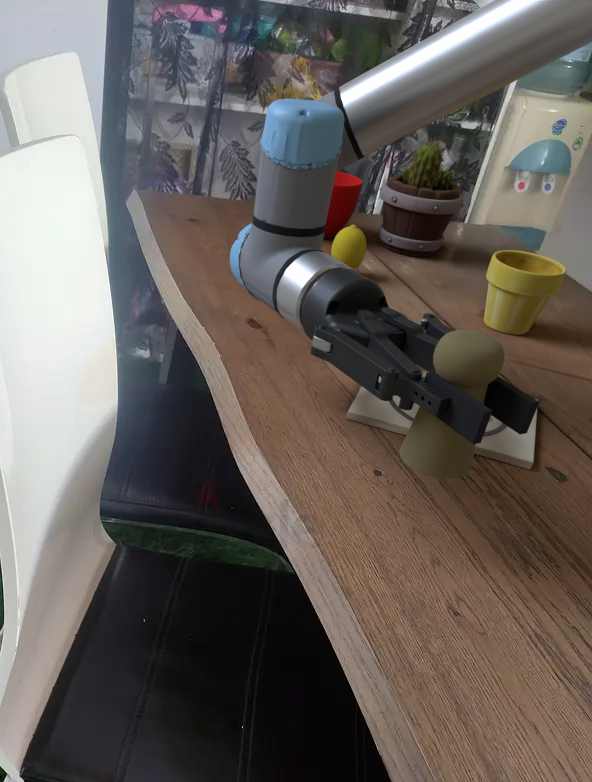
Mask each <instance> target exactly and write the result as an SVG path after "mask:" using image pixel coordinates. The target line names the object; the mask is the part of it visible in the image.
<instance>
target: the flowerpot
mask: <svg viewBox="0 0 592 782" xmlns="http://www.w3.org/2000/svg"><path fill="white" fill-rule="evenodd" d="M436 137H437V135H436V134H435V135H434V138H433V140H432V138H431V137H430V136H428V138H429V139H430V140H429V141H428V139H426V140H425V141H426V142H427V143H425V142H424V141H423V142H422V143H423V144H424V145H423V146H421V145H417V147H418V150H417V148H416V149H415V150H414V151H413V153H412V155H410V159H412V161H409V162H408V163H406V167H405V168H404V170H403V172H401V173H397V174H394V175H393V176H390V177H389V178H388V180H387V181H385V182H383V183H382V185H381V186H380V187H379V191H380V192H379V197H380V199H381V201H383V204H382V205H383V206H382V223H381V224H380V225H379V228H378V236H379V239H380V240H381V244H382V246H383V247H384V248H385V249H387V250H389V251H392V252H393V253H394V252H395V253H397V254H403V255H406V256H410V257H430V256H432V255H433V256H434V254H435V253H436V251H437V250H440V248H441V247H442V246H444V242H445V236H444V233H445V231H446V229H447V227H448V226H449V224H450V222H451V220H452V218H453V215H454V214H457V213H459V212H460V211H461V209H462V208H463V207H464V206H465V203H464V196H463V195H462V194H461V193H460V192H461V191H460V187H459V185H457V184H456V183H455V182H454V181H455V179H454V175H455V173H453V172H455V170H454V169H452V170H451V171H448V170H449V168H450V166H446V167H444V166H443V165H442V163H446V161H447V160H449V159H446V158H447V156H448V155H446V154H445V151H444V150H441V149H442V145H443V144H442V142H441V139H439V140H436ZM435 140H436V141H435ZM439 142H440V143H439ZM416 150H417V151H416Z"/></svg>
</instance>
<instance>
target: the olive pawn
mask: <svg viewBox="0 0 592 782" xmlns="http://www.w3.org/2000/svg"><path fill="white" fill-rule="evenodd" d="M504 362H505V352H504V348H503V346H502V344H501V343H500V342H499V341H498V340H496V338H494V337H492V336H491V335H488V334H486V333H483V332H480V331H475V330H469V329H457V330H454V331H452V332H449V333H447V334H445V335H444V336H443V337H442V338H441V339H440V341H439V342H438V344H437V346H436V348H435V351H434V355H433V364H434V367H435V370H436V373H437V374H438V375H439V376H440V377H442V378H443V379H445V380H447V381H449V382H451V383H452V384H454V385H455V386H457V387H458V388H460V389H461V390H463V391H464V392H466V393H467V394H469V395H470V396H471V397H473V398H474V399H476V400H477V401H479V402H480V403H482V404H483V405H484V401H485V396H486V392H487V387H488V384H489V383H491V382H492V381H494V380H495V379H496V378H497V376H499V375H500V373H501V371H502V369H503V366H504ZM475 445H476V444H472V443H471V442H470V441H468V440H467V439H465V438H464V437H463V436H461V435H460V434H459V433H457V432H456V431H455V430H453V429H452V428H451V427H449V426H448V425H446V424H445V423H444V422H442V421H441V420H440V419H438V418H437V417H436V416H434V415H432V414H430V413H428V412H427V411H426V410H424V409H423V408H422V407H419V409H418V411H417V413H416V416H415V418H414V420H413V422H412V424H411V426H410V429H409V431H408V433H407V435H405V437H404V440H403V442H402V444H401V446H400V448H399V451H398V453H399V457H400V459H401V460H402V461H403V462H404V464H406V465H407V466H408V467H409V468H411V469H412V470H414V471H416V472H418V473H420V474H423V475H426V476H429V477H431V478H437V479H442V480H443V479H444V480H451V479H454V480H455V479H459V478H462V477H465V476H467V475H468V474H469V473H470V472H471V468H472V463H473V458H474V456H475V454H474V450H475Z"/></svg>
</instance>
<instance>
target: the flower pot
mask: <svg viewBox="0 0 592 782" xmlns="http://www.w3.org/2000/svg"><path fill="white" fill-rule="evenodd" d="M566 274H567V268H566V267H565V266H564V265H563V264H561V262H559V261H557V260H555V259H553V258H550V257H547V256H544V255H541V254H537V253H534V252H528V251H524V250H516V249H515V250H514V249H513V250H512V249H503V250H499V251H495V252H494V253H493V254H492V256H491V259H490V261H489V264H488V268H487V271H486V274H485V275H486V277H485V278H486V280H487V281H488V285H487V294H486V301H485V309H484V316H483V323H484V324H485V325H486V326H487V327H488V328H490V329H492V330H494V331H496V332H499V333H503V334H505V335H512V336H513V335H514V336H520V335H526V334H527V333H528V332H529V331H530V329H531V328H532V326H533V325H534V323H535V322H536V320H537V318H538V317H539V315H540V314H541V312H543V310H544V308H545V307H546V305H547V304H548V302H549V300H550V299H551V297H554V296H556V295H558V292H559V291H560V288H561V286H562V284H563V282H564V279H565V277H566Z"/></svg>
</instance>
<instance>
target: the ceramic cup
mask: <svg viewBox="0 0 592 782" xmlns="http://www.w3.org/2000/svg"><path fill="white" fill-rule="evenodd" d="M362 187H363V181H362V179H361V178H359V177H357V176H355V175H353V174H350V173H346V172H342V171H337V172H336V175H335V180H334V185H333V190H332V195H331V200H330V205H329V209H328V214H327V219H326V227H325V232H324V237H323V239H324V238H325V239H327V238H333V237H334V236H336V235H337V234H338V233H339V232H340V231H341V230H342V229H343V228H345V227H346V225H347V224H348V222H349V221H350V220H351V218H352V216H353V214H354V212H355V210H356V208H357V204H358V202H359V199H360V194H361V191H362Z"/></svg>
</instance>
